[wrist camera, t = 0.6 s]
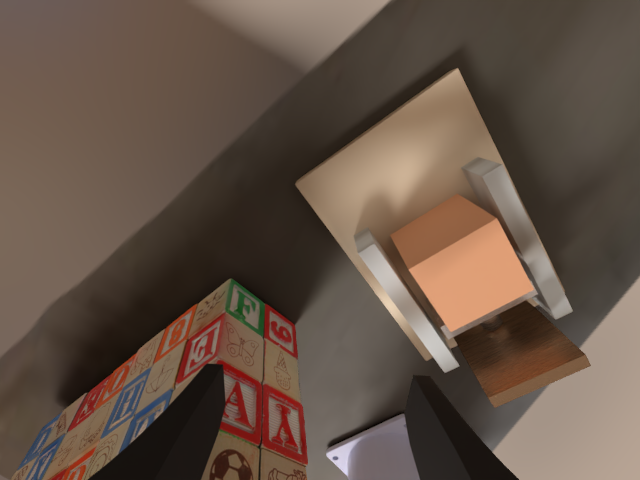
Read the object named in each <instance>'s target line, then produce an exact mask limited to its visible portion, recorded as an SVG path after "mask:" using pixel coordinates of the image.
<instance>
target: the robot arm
mask: <svg viewBox="0 0 640 480" xmlns="http://www.w3.org/2000/svg"><path fill="white" fill-rule="evenodd" d="M225 405H226V401H225V385H224V369H223V364H209V363H207V364H206V365H204V366H203V368H202V369H201V370H200V371H199V372H198V374H197V375H196V376H195V377H194V378H193V379H192V381H191V382H190V383H189V384H188V385H187V386H186V387H185V389H184V390H183V391H182V392H181V393H180V394H179V395H178V396H177V397H176V398H175V399H174V401H173V402H172V403H171V404H170V405H169V406H168V407H167V408H166V409H165V410H164V411H163V412H162V413H161V414H160V415H159V416H158V417H157V418H156V419H155V420H154V421H153V422H152V423H151V424H150V425H149V426H148V427H147V428H146V429H145V430H144V431H143V432H142V433H141V434H140V435H139V436H138V437H137V438H136V439H135V440H134V441H132V442H131V443H130V444H129V445H128V446H127V447H126V448H125V449H124V450H122V451H121V452H120V453H119V454H118V455H117V456H116V457H114V458H113V459H112V460H111V461H110V462H108V463H107V464H106V465H105V466H104V467H102V468H101V469H100V470H99V471H97V472H96V473H95V474H94V475H92V476H91V477H90V478H89V479H88V480H201V478H202V476H203V473H204V470H205V468H206V465H207V462H208V460H209V457H210V454H211V452H212V449H213V446H214V443H215V441H216V438H217V435H218V432H219V428H220V425H221V421H222V417H223V413H224V409H225ZM326 455H327V457H328V458H329V459H330V460H331V461H332V462H333V463H334V464H336V465H337V466H338V467H339V468H340V469H341V470H342V471H343V472H344V473H345V474H346V475H347V476H348V480H519V479H518V478H517V477H516V476H515V475H514V474H513V473H512V472H511V471H510V470H509V469H508V468H507V467H506V466H504V464H503V463H502V462H501V461H500V460H499V459H498V458H497V457H496V456H495V455H494V454H493V453H492V451H491V450H490V449H489V448H488V447H487V446H486V445H485V444H484V443H483V442H482V440H481V439H480V438H479V437H478V436H477V435H476V434H475V432H474V431H473V430H472V429H471V428H470V426H469V425H468V424H467V423H466V422H465V420H464V419H463V418H462V417H461V416H460V414H459V413H458V412H457V411H456V409H455V408H454V407H453V406H452V404H451V403H450V402H449V401H448V399H447V398H446V397H445V396H444V394H443V393H442V392H441V390H440V389H439V388H438V386H437V385H436V384H435V383H434V381H433V380H432V379H431V378H430V376H417V375H413V379H412V383H411V388H410V392H409V396H408V401H407V405H406V410H405V414H400V415H398V416H396V417H394V418H391V419H389V420H387V421H385V422H383V423H381V424H379V425H376V426H374V427H372V428H370V429H368V430H366V431H364V432H361V433H359V434H357V435H355V436H353V437H351V438H349V439H346V440H344V441H342V442H340V443H338V444H336V445H334V446H331V447H329V448H328V449H327V450H326Z"/></svg>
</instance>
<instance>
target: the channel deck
mask: <svg viewBox="0 0 640 480" xmlns="http://www.w3.org/2000/svg"><path fill="white" fill-rule="evenodd" d="M295 185H296V187H297V188H298V189H299V191H300V192H301V193H302V195H303V196H304V197H305V199H306V200H307V201H308V203H309V204H310V205H311V207H312V208H313V210H314V211H315V212H316V214H317V215H318V216H319V218H320V219H321V220H322V222H323V223H324V224H325V226H326V227H327V228H328V230H329V231H330V232H331V234H332V235H333V236H334V238H335V239H336V241H337V242H338V243H339V245H340V246H341V247H342V249H343V250H344V251H345V253H346V254H347V255H348V257H349V258H350V259H351V261H352V262H353V263H354V265H355V266H356V267H357V269H358V270H359V272H360V273H361V274H362V276H363V277H364V278H365V280H366V281H367V282H368V284H369V285H370V286H371V288H372V289H373V290H374V292H375V293H376V294H377V296H378V297H379V298H380V300H381V301H382V302H383V304H384V305H385V307H386V308H387V309H388V311H389V312H390V313H391V315H392V316H393V317H394V319H395V320H396V321H397V323H398V324H399V325H400V327H401V328H402V329H403V331H404V332H405V333H406V335H407V336H408V338H409V339H410V340H411V342H412V343H413V344H414V346H415V347H416V348H417V350H418V351H419V352H420V354H421V355H422V356H423V358H424V359H425V360H426V361H427V360H429V359H431V358H434V359H435V360H436V362H437V363H438V364H439V366H440V367H441V369H442V370H443V371H444V373H446V372H448V371H450V370H453V369H455V368H457V367H459V364H458V362H457V360H456V358H455V357H454V355H453V353H452V351H451V348H453V347H455V346H457V343H456V341H455V339H454V338H453V337H452V338H451V339H449V340H448V338H447V337H446V335H445V334H444V333H443V331H442V330H441V328H440V326H439V325H438V323H437V321H436V319H435V317H434V315H433V313H432V312H431V310H430V308H429V306H428V304H427V302H426V301H425V299H427V296H426V295H425V293H424V292H423V290H422V289H421V287H420V286H419V284H418V283H417V282H416V280H415V279H414V277H413V276H412V274H411V273H410V271H409V270H408V268H407V266H406V264H405V262H404V260H403V259H402V257H401V255H400V253H399V251H398V249H397V247H396V246H395V244H394V242H393V240H392V238H391V236H390V235H391V234H393V233H394V232H396V231H398V230H399V229H401V228H402V227H404V226H406V225H407V224H409V223H411V222H412V221H414V220H415V219H417V218H419V217H420V216H422V215H423V214H425V213H427V212H428V211H430V210H432V209H433V208H435V207H436V206H438V205H440V204H441V203H443V202H445V201H446V200H448V199H449V198H451V197H453V196H454V195H456V194H459V195H460V196H462V197H464V198H465V199H467V200H469V201H470V202H472V203H473V204H475V205H477V206H478V207H480V208H481V209H483V210H485V211H486V212H488V213H490V214H491V215H493V216H494V217H496V218H497V219H498V221H499V223H500V225H501V227H502V229H503V230H504V232H505V234H506V236H507V238H508V240H509V242H510V244H511V246H512V248H513V250H514V252H515V254H516V255H517V257H518V259H519V261H520V263H521V265H522V267H523V269H524V271H525V273H526V275H527V277H528V278H529V279H530V280H531V281H532V283H533V285H534V287H535V289H536V291H537V293H538V294H537V295H535V296H533V297H531V298H529V299H527V301H528V302H529V303H530V304H532V305H533V306H534V307H535V306H537V305H540V306H541V307H542V308H543V309H544V310H545V311H547V312H548V313H549V314H550V315H551V316H552V317H553V318H554V319H555V320H556V319H558V318H560V317H562V316H564V315H567V314H569V313H571V312H573V310H572V308H571V306H570V304H569V302H568V300H567V298H566V296H565V293H564V292H565V290H564V288H563V286H562V284H561V282H560V280H559V278H558V275H557V273H556V271H555V269H554V267H553V265H552V263H551V261H550V259H549V257H548V255H547V253H546V250H545V248H544V246H543V244H542V242H541V240H540V238H539V236H538V234H537V232H536V230H535V228H534V225H533V223H532V221H531V219H530V217H529V215H528V213H527V211H526V209H525V207H524V205H523V203H522V200H521V198H520V196H519V194H518V192H517V190H516V188H515V186H514V184H513V182H512V180H511V178H510V175H509V173H508V171H507V169H506V167H505V165H504V163H503V161H502V159H501V157H500V155H499V153H498V150H497V148H496V146H495V144H494V142H493V140H492V138H491V136H490V134H489V132H488V130H487V128H486V125H485V123H484V121H483V119H482V117H481V115H480V113H479V111H478V109H477V107H476V105H475V103H474V100H473V98H472V96H471V94H470V92H469V90H468V88H467V86H466V84H465V82H464V80H463V78H462V75H461V73H460V71H459V69H458V68H457V69H453V70H450V71H449V72H447V73H446V74H445V75H443V76H442V77H440V78H439V79H438V80H436V81H435V82H433V83H432V84H431V85H429V86H428V87H427V88H425V89H424V90H422V91H421V92H420V93H418V94H417V95H415V96H414V97H413V98H411V99H410V100H408V101H407V102H406V103H404V104H403V105H401V106H400V107H399V108H397V109H396V110H394V111H393V112H392V113H390V114H389V115H387V116H386V117H385V118H383V119H382V120H381V121H379V122H378V123H376V124H375V125H374V126H372V127H371V128H369V129H368V130H367V131H365V132H364V133H362V134H361V135H360V136H358V137H357V138H355V139H354V140H353V141H351V142H350V143H348V144H347V145H346V146H344V147H343V148H341V149H340V150H339V151H337V152H336V153H335V154H333V155H332V156H330V157H329V158H328V159H326V160H325V161H323V162H322V163H321V164H319V165H318V166H316V167H315V168H314V169H312V170H311V171H309V172H308V173H307V174H305V175H304V176H302V177H301V178H300V179H298V180H297V181H296V183H295Z"/></svg>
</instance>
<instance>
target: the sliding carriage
mask: <svg viewBox="0 0 640 480" xmlns="http://www.w3.org/2000/svg"><path fill="white" fill-rule="evenodd" d="M529 280H530V279H529ZM530 282H531V284H532V286H533V288H534V290H533V291H531V292H529V293H527V294H525V295H523V296H521V297H519V298H517V299H515V300H513V301H511V302H509V303H507V304H505V305H503V306H501V307H499V308H497V309H495V310H494V311H492V312H490V313H488V314H486V315H484V316H482V317H480V318H478V319H476V320H474V321H472V322H470V323H468V324H466V325H464V326H462V327H460V328H458V329H456V330H454V331H453V332H450V330H449V329H448V327H447V326H446V324H445V323H444V322H443V320H442V319H441V317H440V316H439V314H438V313H437V311H436V310H435V308H434V307H433V305H432V304H431V302H430V301H429V299H428V298H427V299H425V301H426V302H427V304H428V306H429V308H430V310H431V312H432V313H433V315H434V317H435V319H436V321H437V323H438V325H439V326H440V328H441V330H442V331H443V333H444V334H445V335H446V337H447V338H448V340H449V339H451V338H452V337H453V338H454V339H455V341H456V343H457V345H458V346H459V348H460V350H461V352H462V353H463V355H464V357H465V359H466V360H467V362H468V364H469V366H470V367H471V369H472V371H473V373H474V374H475V376H476V378H477V379H478V381H479V383H480V385H481V386H482V388H483V390H484V392H485V393H486V395H487V397H488V399H489V400H490V401H491V403H492V404H493V406H494V407H495V408H496V407H498V406H500V405H502V404H505V403H507V402H509V401H512V400H514V399H516V398H518V397H521V396H523V395H525V394H528V393H530V392H532V391H534V390H537V389H539V388H541V387H543V386H546V385H548V384H550V383H553V382H555V381H557V380H559V379H562V378H564V377H566V376H569V375H571V374H573V373H575V372H578V371H580V370H582V369H585V368H587V367H589V366H591V365H590V363H589V361H588V359H587V357H586V355H585V354H584V353H583V352H582V351H581V350H580V349H579V348H578V347H577V346H576V345H575V344H573V343H572V342H571V341H570V340H569V339H568V338H567V337H566V336H565V335H564V334H563V333H562V332H561V331H560V330H558V329H557V328H556V327H555V326H554V325H553V324H552V323H551V322H550V321H549V320H548V319H547V318H546V317H544V316H543V315H542V314H541V313H540V312H539V311H538V310H537V309H536V308H535V307H534V306H533V305H532V304H530V303H529V302H528V301H527V299H529V298H531V297H533V296H535V295H537V294H538V293H537V291H536V289H535V287H534V285H533V283H532V281H531V280H530Z"/></svg>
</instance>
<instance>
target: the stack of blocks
mask: <svg viewBox="0 0 640 480" xmlns="http://www.w3.org/2000/svg"><path fill="white" fill-rule="evenodd" d="M297 360H298V353H297V343H296V330H295V325H294V324H293V323H292V322H290V321H289V320H288V319H286V318H285V317H284V316H282V315H281V314H280V313H278V312H277V311H276V310H274V309H273V308H271V307H270V306H269V305H267V304H264V303H263V302H262V301H261V300H260V299H258V298H257V297H256V296H254V295H253V294H252V293H250V292H249V291H248V290H246V289H245V288H244V287H242V286H241V285H240V284H239V283H237V282H236V281H234V280H233V279H229V280H227V281H226V282H225V283H224V284H222V285H221V286H220V287H219V288H217V289H216V290H215V291H213V292H212V293H211V294H210V295H208V296H207V297H206V298H205V299H203V300H202V301H201V302H200V303H199V304H195V305H194V306H193V307H191V308H190V309H189V310H188V311H186V312H185V313H184V314H183V315H181V316H180V317H179V318H178V319H176V320H175V321H174V322H173V323H171V324H170V325H169V326H168V327H167V328H166V329H164V330H162V331H161V332H160V333H158V334H157V335H156V336H155V337H153V338H152V339H151V340H150V341H148V342H147V343H146V344H145V345H143V346H142V347H141V348H140V349H139V350H138V352H137V353H136V354H134V355H133V356H132V357H131V358H130V359H129V360H127V361H126V362H125V363H123V364H122V365H121V366H120V367H118V368H117V369H116V370H115V371H114V372H113V373H112V374H111V375H110V376H108V377H107V378H106V379H104V380H103V381H102V382H101V383H99V384H98V385H97V386H96V387H94V388H93V389H92V390H91V391H90V392H89V393H85V394H84V395H82V396H81V397H80V398H79V399H77V400H76V401H75V402H74V403H72V404H71V405H70V406H69V407H67V408H66V409H65V410H64V411H63V412H62V413H60V414H59V415H58V416H56V417H55V418H54V419H53V420H52V421H50V422H49V423H48V424H47V425H45V426H44V427H43V428H42V429H41V431H40V433H39V434H38V436H37V438H36V439H35V441H34V443H33V445H32V446H31V448H30V449H29V451H28V453H27V454H26V456H25V458H24V459H23V461H22V463H21V464H20V466H19V468H18V469H17V472H16V473H15V474H14V475H13V477H12V479H11V480H88V479H89V478H90V477H91V476H92V475H94V474H95V473H96V472H97V471H99V470H100V469H101V468H102V467H104V466H105V465H106V464H107V463H108V462H110V461H111V460H112V459H113V458H114V457H116V456H117V455H118V454H119V453H120V452H121V451H122V450H124V449H125V448H126V447H127V446H128V445H129V444H130V443H131V442H132V441H134V440H135V439H136V438H137V437H138V436H139V435H140V434H141V433H142V432H143V431H144V430H145V429H146V428H147V427H148V426H149V425H150V424H151V423H152V422H153V421H154V420H155V419H156V418H157V417H158V416H159V415H160V414H161V413H162V412H163V411H164V410H165V409H166V408H167V407H168V406H169V405H170V404H171V403H172V402H173V401H174V399H175V398H176V397H177V396H178V395H179V394H180V393H181V392H182V391H183V390H184V389H185V387H186V386H187V385H188V384H189V383H190V382H191V381H192V379H193V378H194V377H195V376H196V375H197V374H198V372H199V371H200V370H201V369H202V368H203V366H204V365H206V364H207V363H209V364H223V369H224V385H225V401H226V405H225V409H224V413H223V417H222V421H221V425H220V428H219V432H218V435H217V438H216V441H215V443H214V446H213V449H212V452H211V454H210V457H209V460H208V462H207V465H206V468H205V470H204V473H203V476H202V478H201V480H307V476H306V470H305V467H306V466H307V464H308V458H307V445H306V434H305V421H304V415H303V407H302V405H301V393H300V383H299V371H298V362H297Z"/></svg>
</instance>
